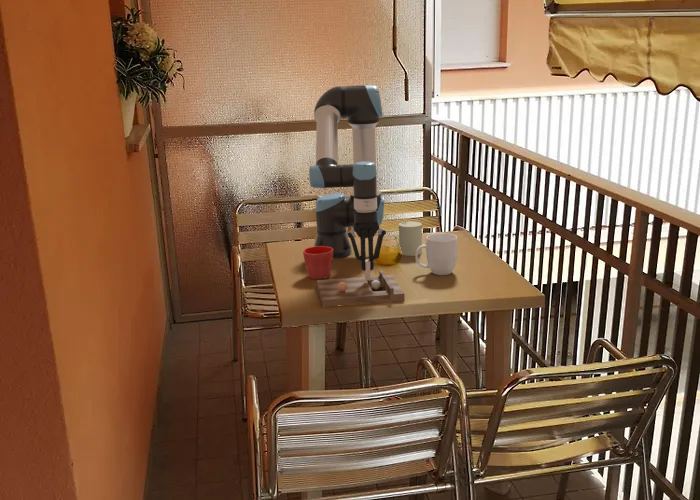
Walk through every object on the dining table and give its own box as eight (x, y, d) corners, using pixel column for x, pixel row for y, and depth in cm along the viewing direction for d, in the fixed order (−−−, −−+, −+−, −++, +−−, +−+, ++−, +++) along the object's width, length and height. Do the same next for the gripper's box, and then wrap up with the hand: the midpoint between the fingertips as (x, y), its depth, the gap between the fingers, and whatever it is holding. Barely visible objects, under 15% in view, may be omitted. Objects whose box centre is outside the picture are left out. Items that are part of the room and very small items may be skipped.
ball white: (368, 283, 243) (375, 276, 243) (374, 289, 244) (381, 283, 244) (370, 286, 240) (377, 279, 240) (376, 292, 241) (383, 286, 241)
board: (317, 287, 246) (316, 274, 245) (392, 281, 249) (392, 269, 248) (323, 307, 227) (322, 293, 226) (404, 300, 230) (404, 287, 229)
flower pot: (299, 274, 262) (298, 248, 259) (328, 269, 266) (326, 244, 263) (310, 282, 252) (308, 255, 250) (339, 277, 256) (338, 251, 254)
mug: (417, 278, 252) (417, 242, 248) (413, 269, 262) (413, 234, 259) (460, 276, 252) (460, 240, 249) (454, 267, 263) (454, 232, 259)
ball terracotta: (336, 290, 235) (336, 281, 234) (346, 289, 235) (346, 280, 234) (338, 293, 232) (337, 284, 231) (348, 292, 232) (347, 283, 231)
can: (406, 248, 290) (406, 219, 287) (426, 251, 285) (426, 221, 281) (394, 253, 283) (393, 224, 279) (414, 257, 277) (414, 226, 274)
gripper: (347, 213, 230) (349, 284, 237) (387, 211, 232) (389, 281, 238) (344, 208, 237) (346, 277, 244) (383, 206, 239) (385, 274, 245)
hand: (367, 279), depth 241 cm, fingers closed
